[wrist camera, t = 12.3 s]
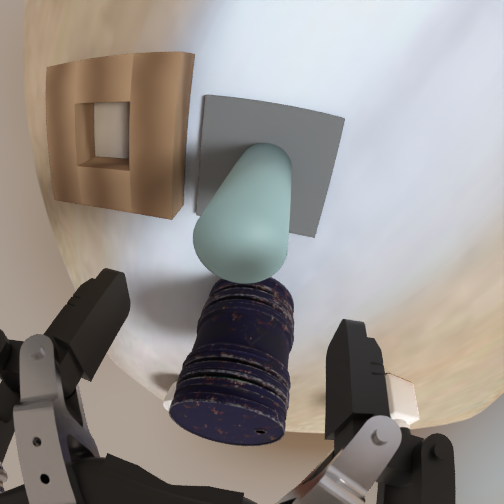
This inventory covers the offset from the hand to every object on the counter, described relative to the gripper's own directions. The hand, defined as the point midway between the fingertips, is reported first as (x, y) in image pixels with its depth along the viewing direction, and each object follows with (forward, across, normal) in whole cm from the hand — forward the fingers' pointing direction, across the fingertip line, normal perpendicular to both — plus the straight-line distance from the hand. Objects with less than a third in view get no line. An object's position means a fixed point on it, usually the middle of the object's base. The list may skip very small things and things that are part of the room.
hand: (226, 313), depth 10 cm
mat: (+17, 0, 0) cm, 17 cm away
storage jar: (+17, 0, +16) cm, 23 cm away
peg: (+16, 0, 0) cm, 16 cm away
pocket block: (+16, +14, -2) cm, 22 cm away
